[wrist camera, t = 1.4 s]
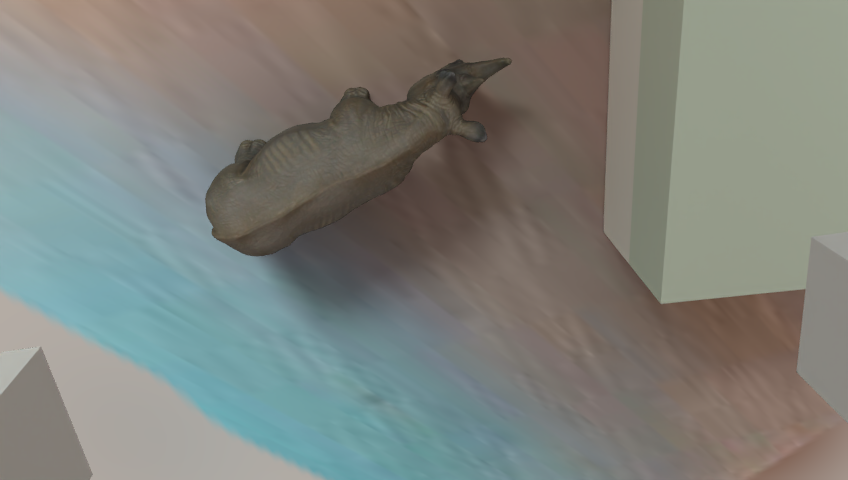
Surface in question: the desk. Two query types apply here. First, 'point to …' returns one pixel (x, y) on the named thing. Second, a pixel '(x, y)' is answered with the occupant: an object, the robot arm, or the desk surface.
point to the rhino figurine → (338, 160)
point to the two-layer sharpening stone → (725, 141)
